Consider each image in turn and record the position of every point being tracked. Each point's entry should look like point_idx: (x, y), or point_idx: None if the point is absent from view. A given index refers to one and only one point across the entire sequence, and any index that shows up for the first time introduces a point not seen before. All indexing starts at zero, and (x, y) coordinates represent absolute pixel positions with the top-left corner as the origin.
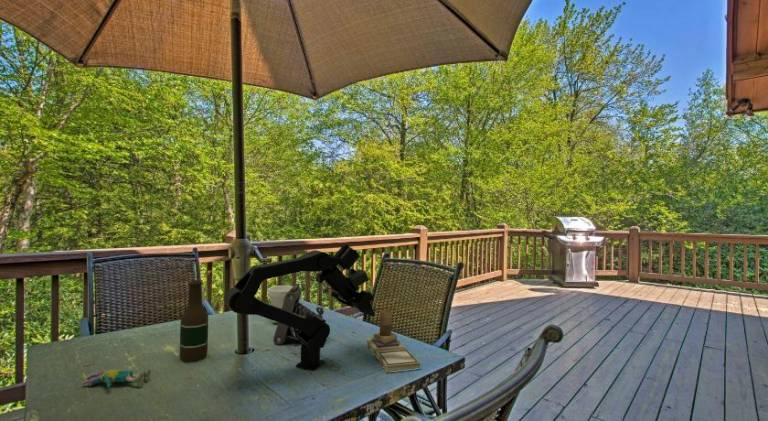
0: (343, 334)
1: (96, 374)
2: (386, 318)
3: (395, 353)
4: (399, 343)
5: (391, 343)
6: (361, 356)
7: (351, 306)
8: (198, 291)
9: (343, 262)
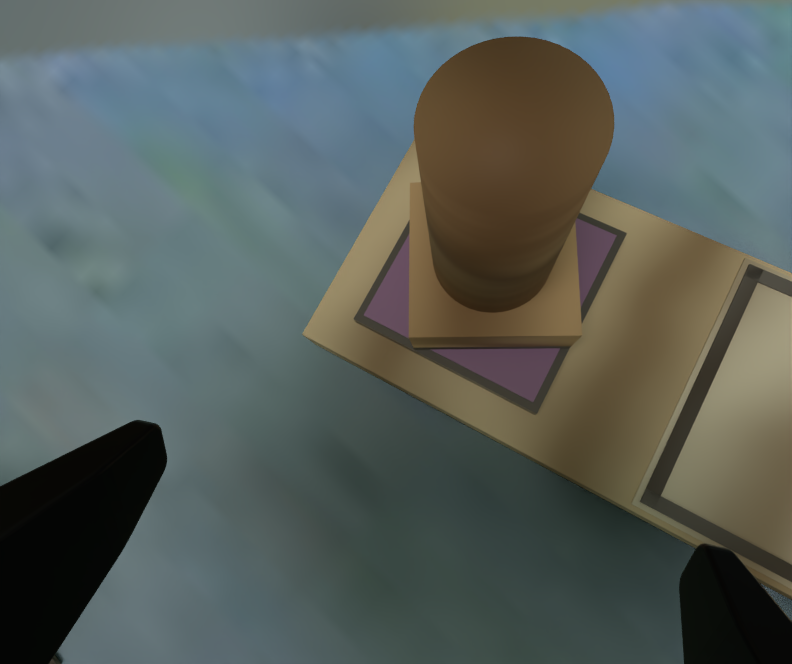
0: (33, 336)
1: None
2: (576, 211)
3: (748, 394)
4: None
5: None
6: (481, 557)
7: (55, 647)
8: None
9: None
